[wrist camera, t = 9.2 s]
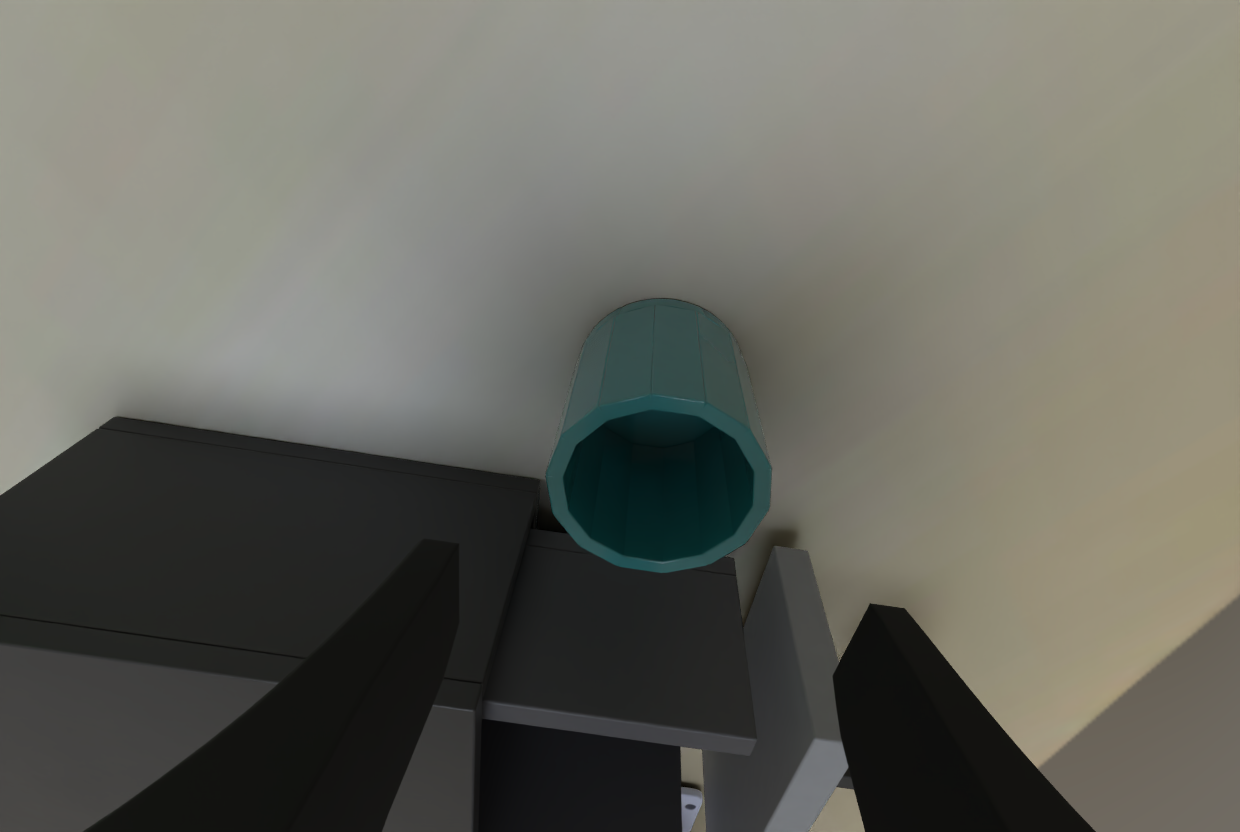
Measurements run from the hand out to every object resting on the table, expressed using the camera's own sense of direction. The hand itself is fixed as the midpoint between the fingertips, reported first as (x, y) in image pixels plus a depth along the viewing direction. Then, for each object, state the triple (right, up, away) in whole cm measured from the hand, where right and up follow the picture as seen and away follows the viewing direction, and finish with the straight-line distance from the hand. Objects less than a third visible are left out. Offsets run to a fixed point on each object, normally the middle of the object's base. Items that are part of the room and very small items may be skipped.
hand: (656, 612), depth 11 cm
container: (+1, +5, +8) cm, 9 cm away
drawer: (+1, -5, +13) cm, 14 cm away
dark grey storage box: (-11, -3, +13) cm, 18 cm away
